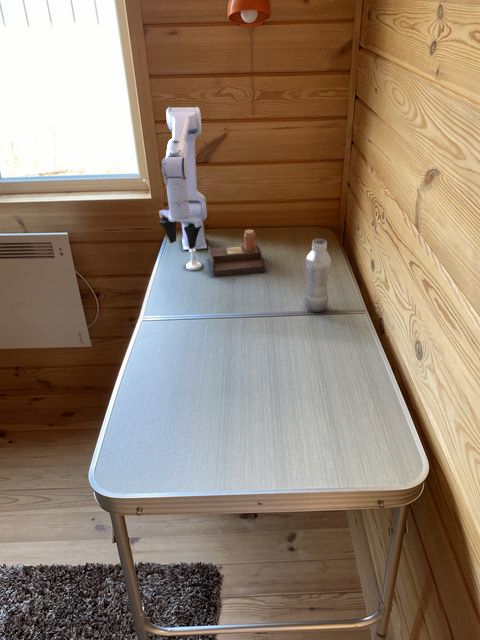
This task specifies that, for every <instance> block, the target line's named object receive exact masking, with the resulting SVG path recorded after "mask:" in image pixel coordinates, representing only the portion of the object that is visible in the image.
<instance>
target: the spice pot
mask: <svg viewBox="0 0 480 640" xmlns="http://www.w3.org/2000/svg"><path fill="white" fill-rule="evenodd" d="M255 245H256V233H255V230H253V229H246V230H244V233H243V246H244V250H245V251H247V252H252V251H254V250H255Z"/></svg>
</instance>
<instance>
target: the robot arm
mask: <svg viewBox="0 0 480 640" xmlns="http://www.w3.org/2000/svg"><path fill="white" fill-rule="evenodd" d="M166 124H167V127H168V129H169V131H170V133H171V135H172V138H171V139H169V140H168V142H167V148H166V154H165V157H164V158H162V159H161V173H162V176H163V177H162V178H163V180H164V185H165V186H166V193H167V203H168V209H161V210H159V211H158V214H159V218H160V219H161V220H160V221H159V224H160V225H161V227H162V228H163V230H164V232H165V234H166V236H167V239H168V241H169V243H170V244H173V243H175V242H176V241H177V222H180V224H181V229H182V230H181V231H182V239H181V242H182V243H181V244H182V249H183V251H189V250H190V249H192V248H194V249H195V250H204V249H206V250H207V248H208V246H207V242H206V237H205V230H204V221H205V220H206V219H207V216H208V207H207V199H206V196H205V195H204V194H202V193H201V192H200V191H199V190H198V185H197V164H196V163H197V161H196V139H197V137H200V136H201V135H202V115H201V109H200V108H199V107H198V106H196V107H172V106H168V107H167V109H166Z"/></svg>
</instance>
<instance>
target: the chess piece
mask: <svg viewBox="0 0 480 640" xmlns="http://www.w3.org/2000/svg"><path fill="white" fill-rule="evenodd" d="M196 251H197V249H194V248H192V249H190V250H188V252H189V253H190V261H189V262H187V263H186V264H185V269H187V270H189V271H197V270H200V269H201V268H202V263H201V262H199V261H197V259H196V255H195V253H196Z"/></svg>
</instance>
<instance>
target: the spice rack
mask: <svg viewBox="0 0 480 640" xmlns="http://www.w3.org/2000/svg"><path fill="white" fill-rule="evenodd" d="M207 248H208V260H209V265H210V270H211V274H212V277H223V276H224V277H225V276H232V275H233V276H234V275H245V274H257V273H265V256H264V254H263V251H262V250H261V247H260V244H259V243H258V242H257V241H255V250H254V251H252V252H247V251H245V250H244V245H243V246H229V247H218V248H212V247H211V245H208V246H207Z"/></svg>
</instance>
